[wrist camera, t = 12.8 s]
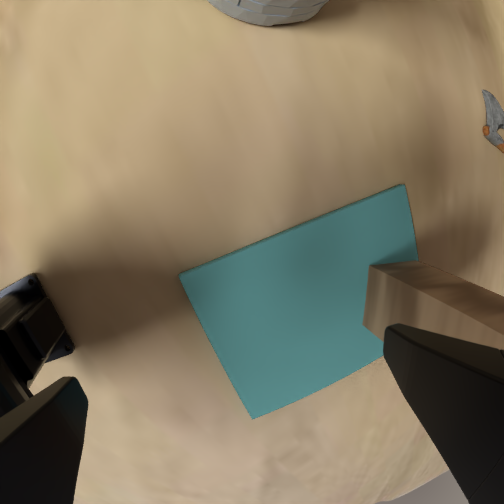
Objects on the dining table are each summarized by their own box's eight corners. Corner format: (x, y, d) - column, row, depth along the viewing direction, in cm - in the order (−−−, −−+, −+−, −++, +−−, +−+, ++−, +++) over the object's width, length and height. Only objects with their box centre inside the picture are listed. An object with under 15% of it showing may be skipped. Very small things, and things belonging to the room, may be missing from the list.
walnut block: (362, 324, 23) (474, 418, 11) (368, 265, 22) (507, 337, 10) (407, 314, 24) (516, 386, 12) (415, 260, 23) (542, 314, 11)
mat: (250, 414, 24) (252, 419, 23) (178, 274, 20) (178, 276, 19) (421, 326, 26) (424, 328, 25) (399, 184, 22) (404, 184, 21)
